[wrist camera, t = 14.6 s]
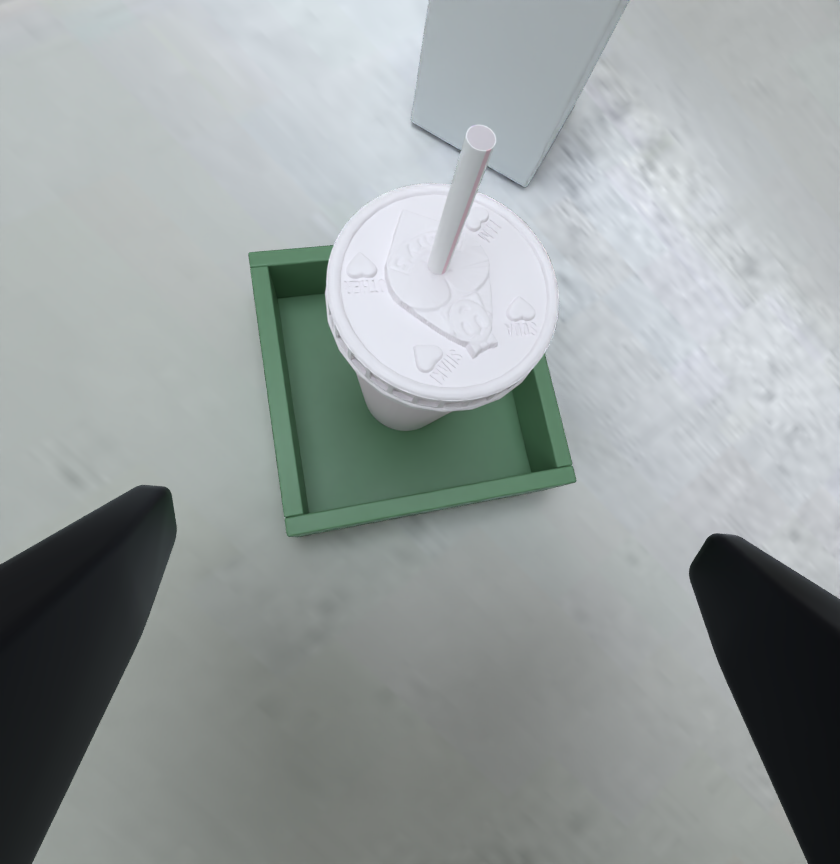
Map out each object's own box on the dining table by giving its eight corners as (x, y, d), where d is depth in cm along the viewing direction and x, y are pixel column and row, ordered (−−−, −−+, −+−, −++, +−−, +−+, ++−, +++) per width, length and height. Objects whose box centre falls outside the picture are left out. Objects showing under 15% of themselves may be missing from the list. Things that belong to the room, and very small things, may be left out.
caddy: (545, 489, 23) (577, 482, 19) (296, 537, 21) (286, 537, 17) (492, 268, 25) (514, 228, 22) (261, 291, 23) (247, 251, 20)
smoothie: (429, 304, 23) (547, -21, 10) (498, 420, 23) (729, 244, 9) (307, 361, 22) (244, 74, 8) (377, 487, 21) (433, 398, 8)
